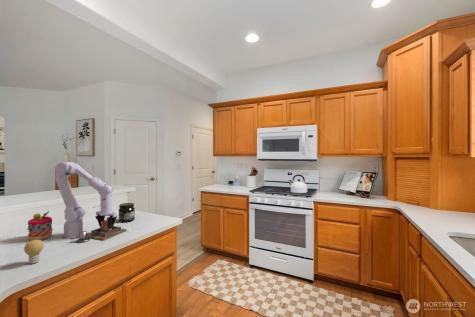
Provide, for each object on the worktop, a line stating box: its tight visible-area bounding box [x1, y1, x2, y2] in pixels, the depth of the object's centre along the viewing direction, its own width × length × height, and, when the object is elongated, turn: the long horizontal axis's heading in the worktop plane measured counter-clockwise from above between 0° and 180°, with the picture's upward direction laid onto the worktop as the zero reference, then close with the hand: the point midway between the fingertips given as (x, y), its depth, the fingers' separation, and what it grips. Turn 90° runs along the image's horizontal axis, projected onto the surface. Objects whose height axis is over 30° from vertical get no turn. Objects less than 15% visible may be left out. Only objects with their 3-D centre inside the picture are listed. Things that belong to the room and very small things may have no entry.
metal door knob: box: [76, 230, 91, 244], centre depth 120 cm, size 6×6×5 cm
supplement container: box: [118, 202, 136, 224], centre depth 156 cm, size 10×10×12 cm
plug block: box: [100, 219, 112, 232], centre depth 131 cm, size 4×4×7 cm
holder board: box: [86, 225, 128, 241], centre depth 131 cm, size 15×16×3 cm
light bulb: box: [23, 240, 45, 265], centre depth 96 cm, size 6×6×10 cm
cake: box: [27, 210, 53, 242], centre depth 124 cm, size 10×11×15 cm
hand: (106, 227), depth 131 cm, fingers open, 7 cm apart
